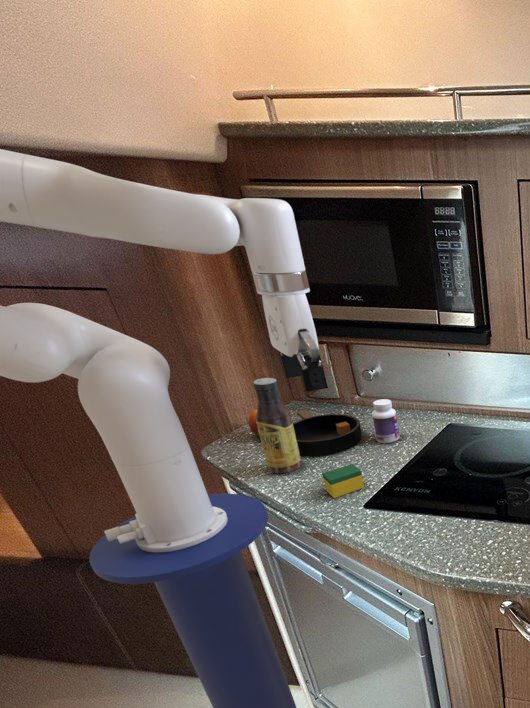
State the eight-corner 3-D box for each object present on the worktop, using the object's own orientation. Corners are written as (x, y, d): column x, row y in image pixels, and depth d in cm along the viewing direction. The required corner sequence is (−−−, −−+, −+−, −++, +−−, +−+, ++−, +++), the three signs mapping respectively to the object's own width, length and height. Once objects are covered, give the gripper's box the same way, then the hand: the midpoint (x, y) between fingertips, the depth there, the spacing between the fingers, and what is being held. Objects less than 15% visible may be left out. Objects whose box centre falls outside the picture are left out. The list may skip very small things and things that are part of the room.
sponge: (333, 498, 98) (329, 480, 96) (326, 490, 100) (321, 473, 98) (364, 487, 102) (361, 470, 100) (356, 480, 104) (352, 463, 102)
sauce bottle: (262, 471, 106) (235, 382, 97) (287, 459, 111) (264, 373, 102) (285, 477, 104) (260, 387, 95) (310, 464, 109) (288, 378, 100)
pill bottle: (402, 440, 121) (396, 403, 117) (379, 445, 119) (372, 407, 114) (396, 432, 125) (391, 396, 121) (374, 437, 123) (367, 400, 118)
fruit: (235, 433, 118) (246, 401, 118) (269, 439, 125) (279, 409, 125) (254, 442, 115) (264, 409, 115) (287, 447, 122) (298, 416, 122)
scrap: (341, 436, 121) (339, 427, 120) (337, 433, 122) (335, 424, 121) (351, 433, 122) (349, 424, 121) (347, 430, 124) (345, 421, 123)
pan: (301, 463, 110) (297, 448, 108) (269, 432, 123) (265, 418, 121) (373, 442, 120) (370, 428, 118) (336, 415, 133) (334, 402, 132)
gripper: (240, 277, 84) (266, 375, 92) (273, 292, 73) (300, 400, 81) (289, 274, 89) (310, 367, 97) (326, 288, 78) (347, 390, 86)
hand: (305, 382), depth 89 cm, fingers open, 9 cm apart
